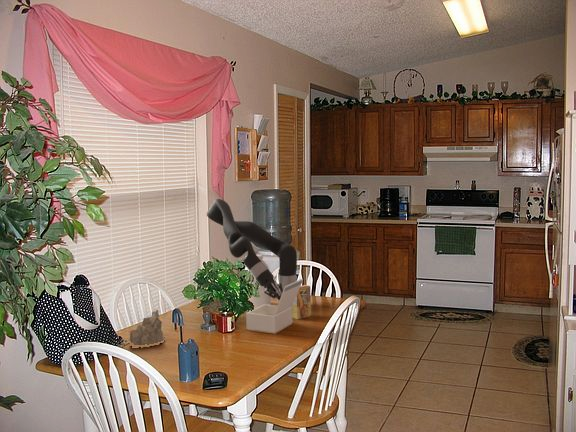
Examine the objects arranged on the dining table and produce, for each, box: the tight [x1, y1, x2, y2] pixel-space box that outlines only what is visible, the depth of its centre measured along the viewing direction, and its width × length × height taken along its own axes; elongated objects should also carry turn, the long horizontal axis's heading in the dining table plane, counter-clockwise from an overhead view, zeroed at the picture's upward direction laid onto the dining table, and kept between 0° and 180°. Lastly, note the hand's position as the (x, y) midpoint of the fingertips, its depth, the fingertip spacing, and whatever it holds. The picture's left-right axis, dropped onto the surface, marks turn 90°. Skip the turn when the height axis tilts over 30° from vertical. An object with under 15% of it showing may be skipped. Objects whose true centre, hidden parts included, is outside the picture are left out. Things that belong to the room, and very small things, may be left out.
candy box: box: [292, 284, 312, 320], centre depth 286 cm, size 9×4×15 cm, turn 129°
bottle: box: [244, 254, 272, 309], centre depth 306 cm, size 14×14×28 cm
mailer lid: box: [274, 278, 304, 316], centre depth 266 cm, size 1×17×15 cm, turn 154°
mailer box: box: [245, 304, 294, 335], centre depth 272 cm, size 15×17×8 cm
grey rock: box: [129, 309, 166, 345], centre depth 254 cm, size 16×16×15 cm
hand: (284, 303), depth 266 cm, fingers closed
